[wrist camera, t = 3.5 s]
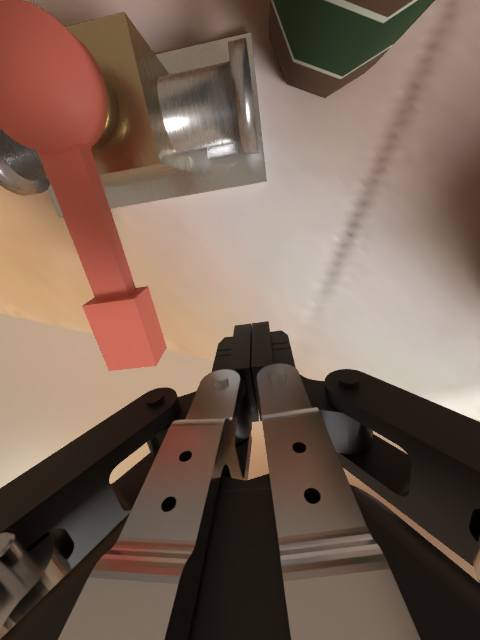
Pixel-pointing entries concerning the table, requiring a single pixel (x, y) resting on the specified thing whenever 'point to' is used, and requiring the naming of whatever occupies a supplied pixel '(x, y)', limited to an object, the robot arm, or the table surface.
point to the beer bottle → (336, 38)
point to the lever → (75, 169)
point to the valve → (161, 119)
